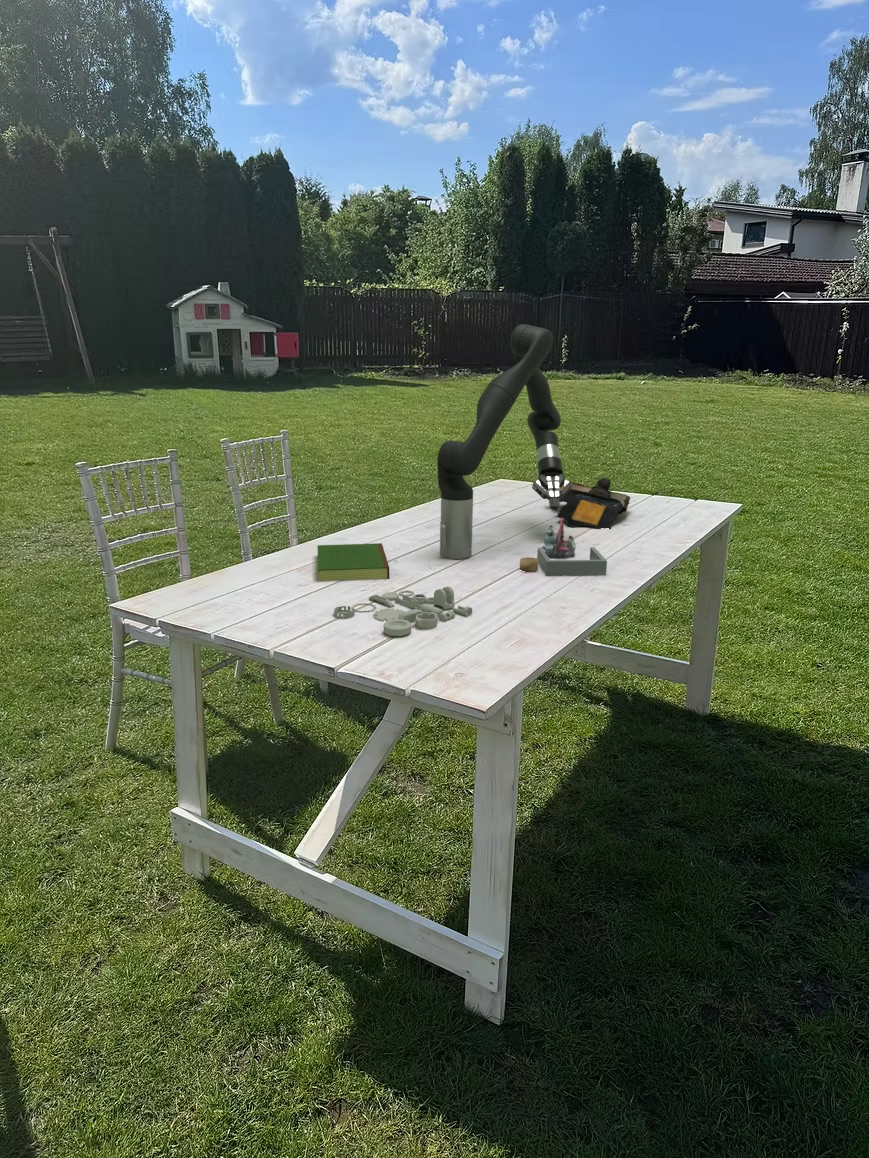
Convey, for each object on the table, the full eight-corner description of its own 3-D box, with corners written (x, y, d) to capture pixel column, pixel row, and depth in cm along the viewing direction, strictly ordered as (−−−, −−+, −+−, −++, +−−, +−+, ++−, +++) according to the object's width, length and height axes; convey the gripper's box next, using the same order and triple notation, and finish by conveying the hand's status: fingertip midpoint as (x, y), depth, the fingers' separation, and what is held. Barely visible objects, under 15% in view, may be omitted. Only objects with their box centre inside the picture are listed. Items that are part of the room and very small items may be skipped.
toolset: (634, 529, 257) (570, 478, 255) (594, 569, 267) (532, 521, 264) (636, 488, 292) (580, 444, 289) (601, 525, 301) (546, 482, 299)
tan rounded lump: (521, 573, 214) (521, 562, 213) (518, 567, 219) (518, 557, 218) (539, 572, 214) (539, 562, 213) (536, 567, 219) (536, 557, 218)
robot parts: (324, 615, 184) (323, 594, 182) (403, 591, 200) (403, 571, 198) (395, 645, 167) (394, 621, 165) (475, 615, 183) (475, 594, 182)
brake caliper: (582, 553, 224) (558, 519, 223) (550, 572, 228) (526, 539, 227) (584, 543, 235) (562, 510, 233) (554, 562, 239) (531, 530, 237)
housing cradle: (546, 575, 211) (546, 561, 210) (537, 561, 224) (537, 547, 223) (606, 575, 212) (607, 560, 211) (593, 560, 225) (594, 547, 224)
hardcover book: (389, 580, 208) (389, 567, 207) (318, 583, 206) (317, 569, 205) (381, 554, 232) (381, 542, 231) (318, 557, 229) (317, 544, 228)
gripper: (530, 455, 243) (535, 503, 235) (572, 455, 244) (579, 502, 236) (526, 469, 250) (531, 516, 242) (567, 469, 250) (574, 515, 242)
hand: (555, 509), depth 239 cm, fingers closed
